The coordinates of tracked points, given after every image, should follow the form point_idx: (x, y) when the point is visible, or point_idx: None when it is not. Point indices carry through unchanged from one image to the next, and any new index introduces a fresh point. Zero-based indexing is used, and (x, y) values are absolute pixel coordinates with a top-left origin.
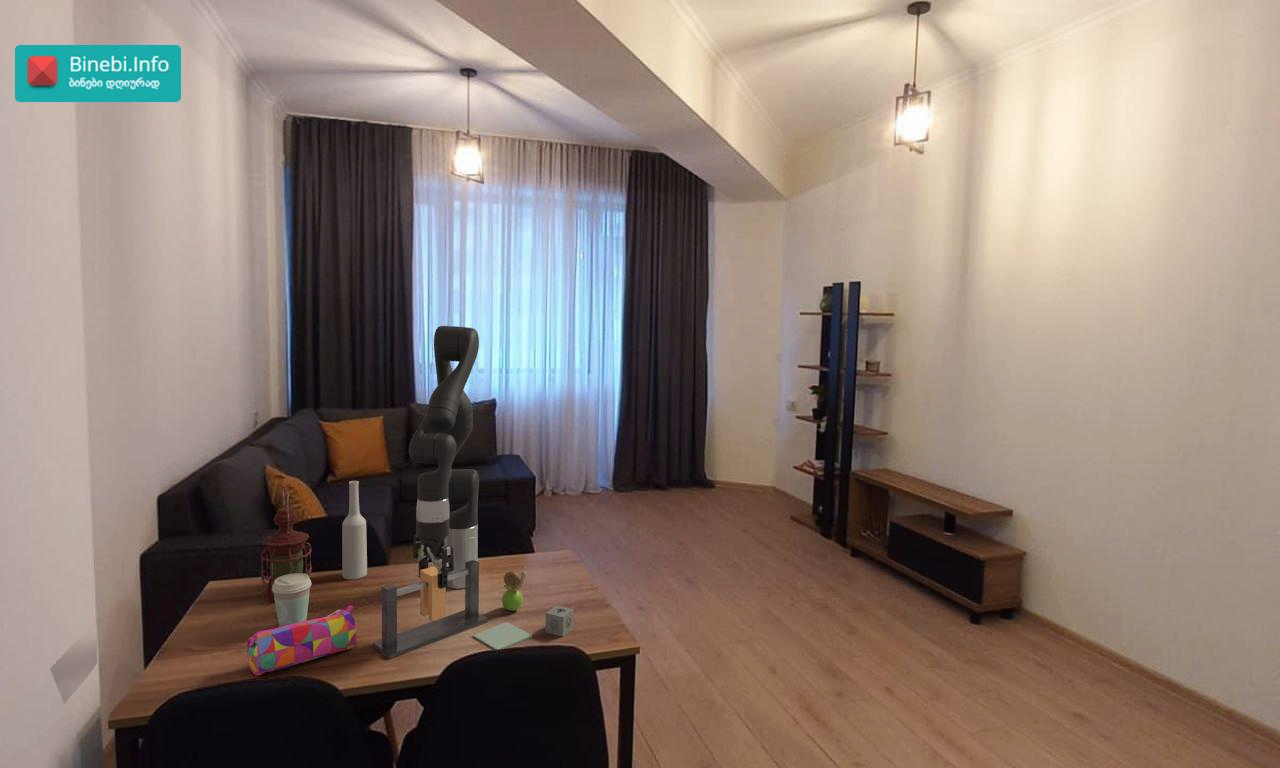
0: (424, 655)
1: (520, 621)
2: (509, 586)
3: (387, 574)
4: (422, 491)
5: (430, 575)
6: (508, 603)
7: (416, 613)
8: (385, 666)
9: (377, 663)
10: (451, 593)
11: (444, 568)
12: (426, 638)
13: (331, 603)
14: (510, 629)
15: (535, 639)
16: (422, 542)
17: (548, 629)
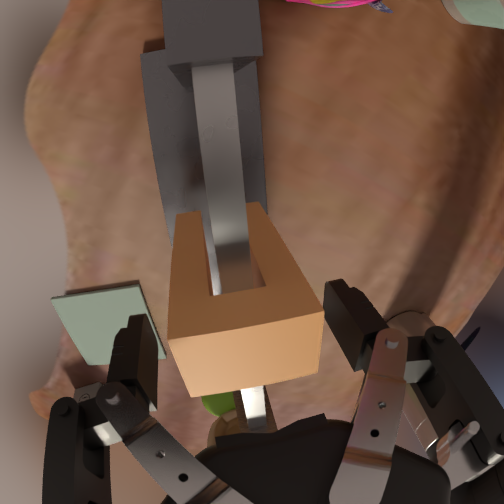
0: (104, 145)
1: (162, 373)
2: (232, 418)
3: (501, 241)
4: None
5: (192, 337)
6: None
7: (356, 218)
8: (112, 38)
9: (142, 23)
10: None
11: (51, 427)
12: (172, 177)
13: (493, 106)
14: None
15: (78, 362)
16: (410, 489)
17: (94, 388)
